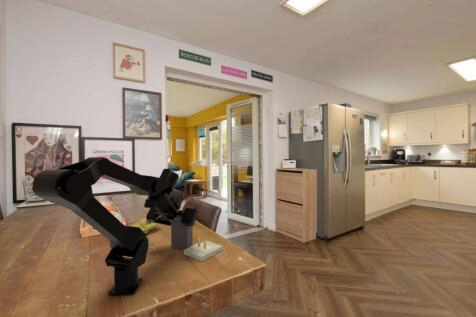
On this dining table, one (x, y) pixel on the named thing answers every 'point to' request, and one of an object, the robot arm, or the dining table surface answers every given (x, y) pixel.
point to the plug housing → (180, 235)
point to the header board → (203, 250)
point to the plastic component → (145, 225)
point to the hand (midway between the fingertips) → (181, 225)
